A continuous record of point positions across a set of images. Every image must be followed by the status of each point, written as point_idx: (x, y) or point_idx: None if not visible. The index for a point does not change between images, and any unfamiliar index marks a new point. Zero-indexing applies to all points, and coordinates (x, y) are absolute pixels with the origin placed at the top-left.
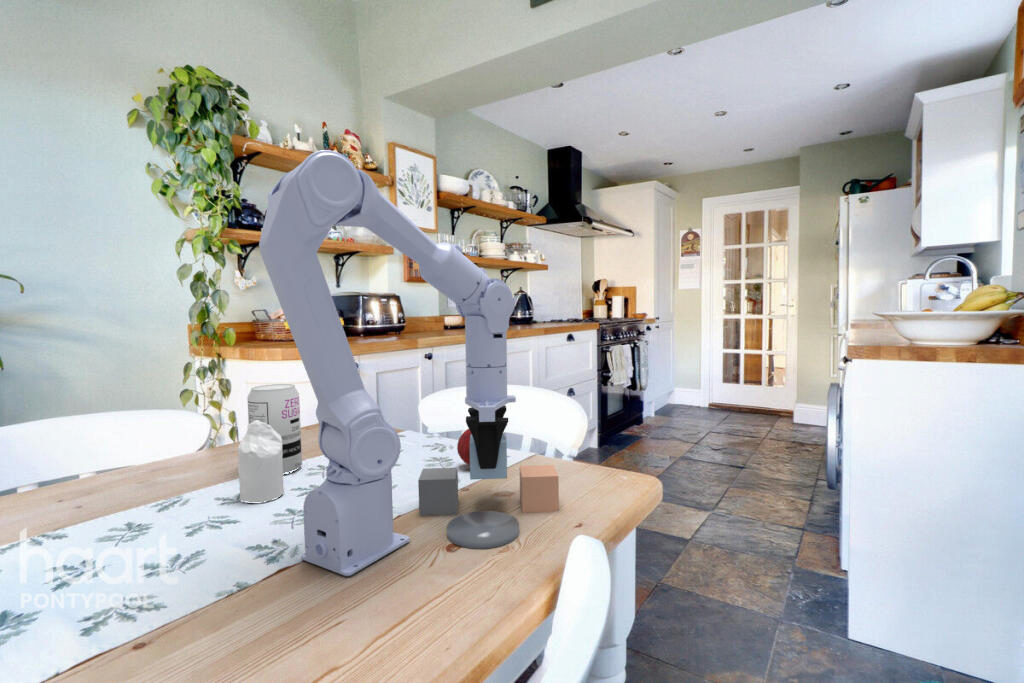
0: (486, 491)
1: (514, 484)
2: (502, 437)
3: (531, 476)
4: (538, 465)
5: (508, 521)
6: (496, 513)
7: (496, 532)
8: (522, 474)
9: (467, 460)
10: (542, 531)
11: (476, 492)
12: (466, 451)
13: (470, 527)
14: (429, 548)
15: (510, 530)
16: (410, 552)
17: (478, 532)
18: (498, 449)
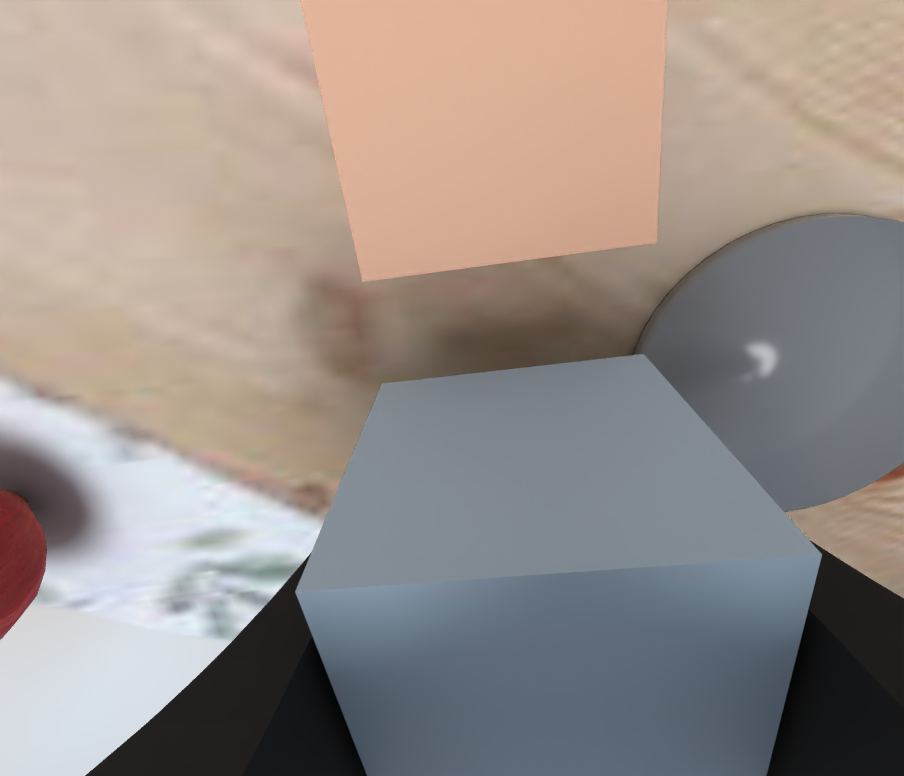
0: (321, 412)
1: (192, 286)
2: (534, 610)
3: (643, 156)
4: (328, 98)
5: (785, 277)
6: (671, 343)
7: (898, 322)
8: (587, 242)
9: (45, 557)
10: (856, 79)
11: (341, 451)
12: (15, 602)
13: (808, 433)
14: (869, 526)
15: (898, 257)
16: (879, 569)
17: (870, 397)
18: (867, 579)
